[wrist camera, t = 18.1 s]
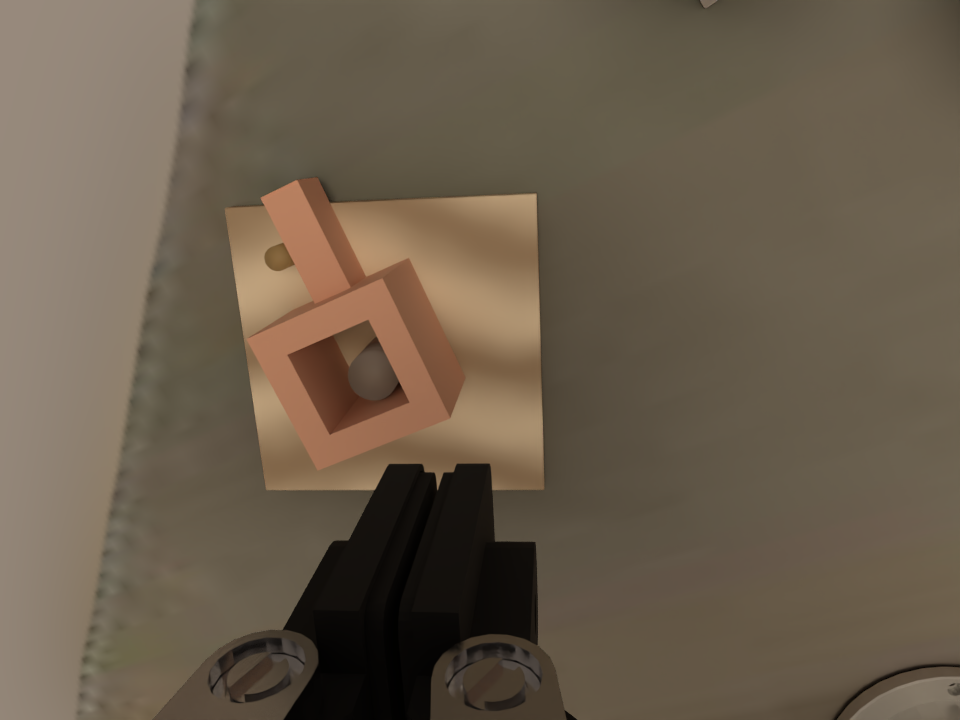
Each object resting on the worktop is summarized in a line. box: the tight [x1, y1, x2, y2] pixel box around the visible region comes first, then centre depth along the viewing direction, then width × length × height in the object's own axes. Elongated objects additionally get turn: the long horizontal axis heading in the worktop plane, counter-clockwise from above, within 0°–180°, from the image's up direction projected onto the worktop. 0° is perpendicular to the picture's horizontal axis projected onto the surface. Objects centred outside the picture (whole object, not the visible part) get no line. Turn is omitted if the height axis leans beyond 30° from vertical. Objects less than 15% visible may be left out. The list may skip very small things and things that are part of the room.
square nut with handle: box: [247, 177, 465, 471], centre depth 35 cm, size 12×7×6 cm, turn 24°
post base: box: [225, 193, 544, 490], centre depth 37 cm, size 16×16×5 cm
